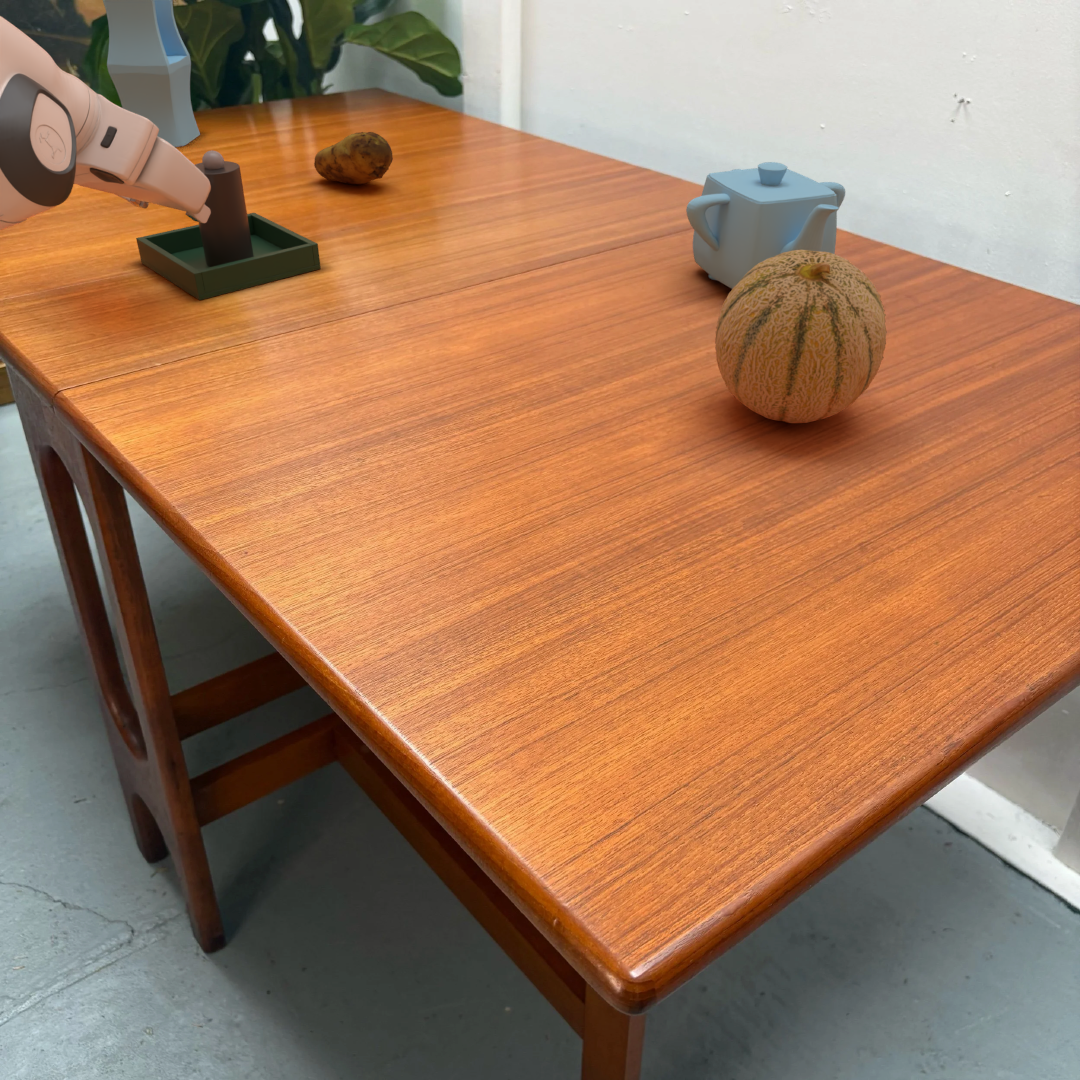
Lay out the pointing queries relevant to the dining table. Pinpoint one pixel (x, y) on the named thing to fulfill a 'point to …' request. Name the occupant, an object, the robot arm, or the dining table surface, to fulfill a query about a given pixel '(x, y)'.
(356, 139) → the potato
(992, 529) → the dining table surface
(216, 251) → the pepper mill
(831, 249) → the teapot
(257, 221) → the tray
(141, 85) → the vase
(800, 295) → the cantaloupe
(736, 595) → the dining table surface
